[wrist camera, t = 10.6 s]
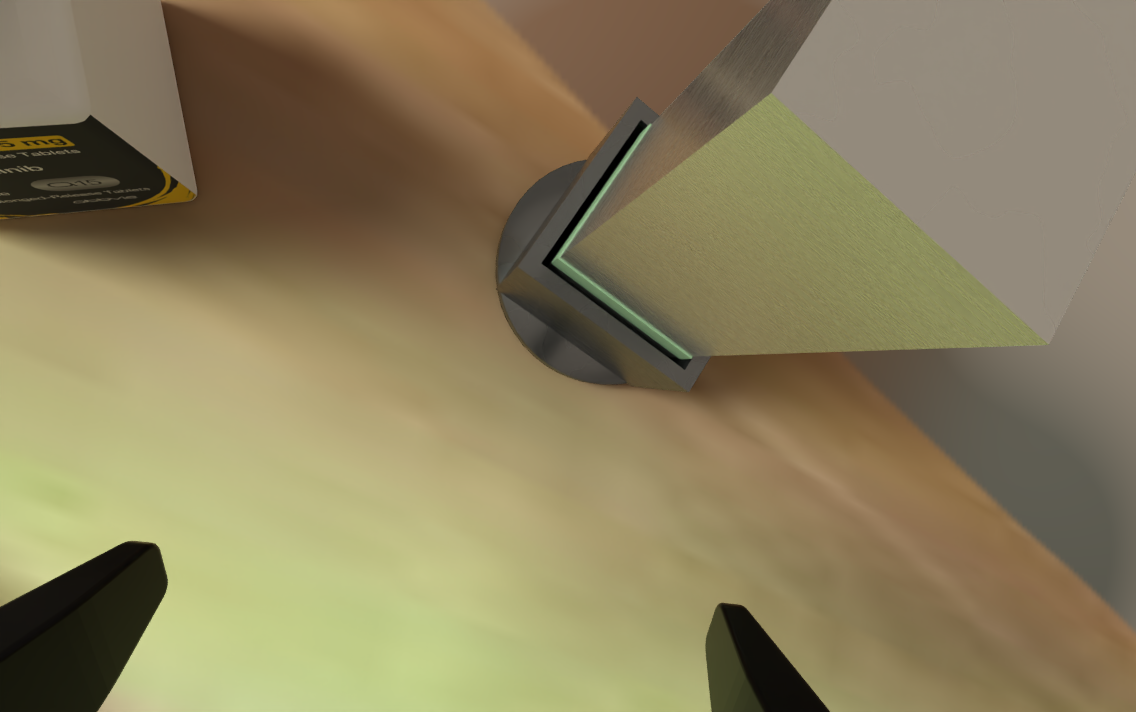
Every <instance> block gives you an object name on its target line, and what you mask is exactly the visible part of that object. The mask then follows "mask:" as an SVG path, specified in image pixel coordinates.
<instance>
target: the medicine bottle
mask: <svg viewBox="0 0 1136 712" xmlns="http://www.w3.org/2000/svg"><path fill="white" fill-rule="evenodd" d="M196 197H197V186H196V181H195V176H194V171H193V166H192V160H191V155H190V150H189V145H188V140H187V135H186V129H185V124H184V119H183V114H182V109H181V103H180V98H179V93H178V88H177V83H176V78H175V72H174V67H173V62H172V57H171V52H170V46H169V41H168V36H167V31H166V26H165V20H164V15H163V10H162V5H161V1H160V0H0V219H10V218H20V217H31V216H41V215H52V214H62V213H73V212H83V211H94V210H105V209H115V208H126V207H136V206H147V205H157V204H168V203H178V202H189V201H192V200H194V199H195V198H196Z"/></svg>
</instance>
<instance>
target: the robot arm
mask: <svg viewBox="0 0 1136 712" xmlns="http://www.w3.org/2000/svg"><path fill="white" fill-rule="evenodd" d="M167 585H168V579H167V574H166V571H165V567H164V563H163V559H162V555H161V552H160V549H159V547H158V546H157V545H156V544H154V543H149V542H140V541H128V542H124V543H122V544H120V545H118V546H116V547H114V548H112V549H110V550H108V551H107V552H105V553H103V554H101V555H99V556H97V557H95V558H93V559H91V560H89V561H87V562H85V563H83V564H82V565H80V566H78V567H76V568H74V569H72V570H70V571H68V572H66V573H64V574H62V575H60V576H58V577H57V578H55V579H53V580H51V581H49V582H47V583H45V584H43V585H41V586H39V587H37V588H35V589H33V590H32V591H30V592H28V593H26V594H24V595H22V596H20V597H18V598H16V599H14V600H12V601H10V602H9V603H7V604H5V605H3V606H1V607H0V712H97V711H98V710H99V708H100V707H101V705H102V704H103V702H104V701H105V699H106V697H107V696H108V694H109V693H110V691H111V690H112V688H113V686H114V684H115V683H116V681H117V679H118V678H119V676H120V674H121V672H122V671H123V669H124V667H125V665H126V664H127V662H128V660H129V658H130V656H131V655H132V653H133V651H134V649H135V647H136V646H137V644H138V642H139V640H140V638H141V637H142V635H143V633H144V631H145V629H146V628H147V626H148V624H149V622H150V621H151V619H152V617H153V615H154V613H155V612H156V610H157V608H158V606H159V604H160V603H161V601H162V599H163V597H164V595H165V593H166V590H167ZM706 660H707V670H708V680H709V690H710V700H711V710H712V712H830V711H829V710H828V708H827V707H826V706H825V705H824V704H823V702H822V701H821V700H820V699H819V697H818V696H817V695H816V694H815V692H814V691H813V690H812V689H811V687H810V686H809V685H808V684H807V683H806V681H805V680H804V679H803V678H802V676H801V675H800V674H799V673H798V671H797V670H796V669H795V668H794V666H793V665H792V664H791V663H790V662H789V660H788V659H787V658H786V657H785V655H784V654H783V653H782V652H781V650H780V649H779V648H778V647H777V645H776V644H775V643H774V642H773V641H772V639H771V638H770V637H769V636H768V634H767V633H766V632H765V631H764V629H763V628H762V627H761V626H760V624H759V623H758V622H757V621H756V620H755V618H754V617H753V616H752V615H751V613H750V612H749V611H748V610H747V609H746V608H745V607H744V606H742V605H737V604H728V603H720V604H718V605H717V607H716V609H715V612H714V615H713V618H712V621H711V624H710V627H709V630H708V633H707V637H706Z"/></svg>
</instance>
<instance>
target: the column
mask: <svg viewBox="0 0 1136 712" xmlns="http://www.w3.org/2000/svg"><path fill="white" fill-rule="evenodd" d="M1135 173H1136V0H770V1H769V2H768V3H767V4H766V5H765V6H764V8H762V10H761V11H760V12H759V13H758V14H757V15H756V16H755V17H754V18H753V19H752V20H751V21H750V22H749V23H748V24H747V25H746V26H745V27H744V29H743V30H741V32H740V33H739V34H738V35H737V36H736V37H735V38H734V39H733V40H732V41H731V42H730V43H729V44H728V45H727V46H726V47H725V48H724V49H723V50H722V51H721V52H720V54H719V55H718V56H717V57H716V58H715V59H714V60H713V61H712V62H711V63H710V64H709V65H708V66H707V67H706V68H705V69H704V70H703V71H702V72H701V73H700V74H699V76H697V78H696V79H695V80H694V81H693V82H692V83H691V84H690V85H689V86H688V87H687V88H686V89H685V90H684V91H683V92H682V93H681V94H680V96H678V97H677V99H676V100H675V101H674V102H673V103H672V104H671V105H670V106H669V107H668V108H667V109H666V110H665V111H664V112H663V113H662V114H661V115H660V116H659V117H658V118H657V119H656V120H655V121H654V122H653V124H649V125H648V126H647V127H646V128H645V129H644V130H643V131H642V132H641V133H640V135H639V136H638V138H637V139H636V141H635V142H634V143H633V144H632V145H631V147H630V148H629V149H628V150H627V152H626V153H625V154H624V156H623V157H622V159H621V160H620V162H619V163H618V165H617V166H616V168H615V169H614V170H613V172H612V173H611V175H610V176H609V178H608V179H607V181H606V182H605V183H604V185H603V186H602V188H601V189H600V191H599V192H598V194H597V195H596V196H595V198H594V199H593V201H592V202H591V204H590V205H589V207H588V208H587V209H586V211H585V212H584V214H583V215H582V217H581V218H580V220H579V221H578V223H577V224H576V225H575V227H574V228H573V230H572V231H571V233H570V234H569V236H568V237H567V238H566V240H565V241H564V243H563V244H562V246H561V247H560V249H559V250H558V251H557V253H556V254H555V256H554V257H553V259H552V260H551V262H550V263H549V265H548V266H547V268H548V269H549V270H551V271H552V272H553V273H555V274H556V275H557V276H559V277H560V278H561V279H563V280H564V281H566V282H567V283H568V284H570V285H571V286H572V287H574V288H575V289H576V290H578V291H579V292H580V293H582V294H583V295H584V296H586V297H587V298H588V299H590V300H591V301H592V302H594V303H595V304H597V305H598V306H599V307H601V308H602V309H603V310H605V311H606V312H607V313H609V314H610V315H611V316H613V317H614V318H615V319H617V320H618V321H619V322H621V323H622V324H623V325H625V326H626V327H628V328H629V329H630V330H632V331H633V332H634V333H636V334H637V335H638V336H640V337H641V338H642V339H644V340H645V341H646V342H648V343H649V344H650V345H652V346H653V347H654V348H656V349H657V350H659V351H660V352H661V353H663V354H664V355H665V356H667V357H678V358H679V359H692V357H694V356H724V355H754V354H784V353H814V352H845V351H872V350H902V349H903V350H905V349H932V348H933V349H934V348H965V347H992V346H993V347H995V346H1025V345H1049V343H1050V342H1051V339H1052V338H1053V336H1054V334H1055V332H1056V329H1057V328H1058V326H1059V324H1060V322H1061V320H1062V318H1063V316H1064V314H1065V312H1066V310H1067V308H1068V306H1069V304H1070V302H1071V300H1072V298H1073V296H1074V294H1075V292H1076V290H1077V288H1078V286H1079V284H1080V282H1081V280H1082V278H1083V276H1084V274H1085V272H1086V270H1087V268H1088V266H1089V264H1090V262H1091V260H1092V258H1093V256H1094V254H1095V252H1096V250H1097V248H1098V246H1099V244H1100V242H1101V241H1102V238H1103V237H1104V235H1105V233H1106V231H1107V229H1108V227H1109V225H1110V222H1111V221H1112V219H1113V217H1114V215H1115V213H1116V211H1117V209H1118V207H1119V205H1120V203H1121V201H1122V199H1123V197H1124V195H1125V193H1126V191H1127V189H1128V187H1129V185H1130V183H1131V181H1132V179H1133V177H1134V175H1135Z"/></svg>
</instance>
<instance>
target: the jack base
mask: <svg viewBox="0 0 1136 712" xmlns="http://www.w3.org/2000/svg"><path fill="white" fill-rule="evenodd" d="M658 117H659V115H658V114H656V113H655V112H654V111H653V110H651V108H649V107H648V106H647V105H646V104H645V103H643V102H642V101H641V100H640V99H639V98H638V97H636V99H635V100H634V101H633V102H632V104H631V105H630V106H629V107H628V109H627V110H626V111H625V112H624V114H623V115H622V116H621V117H620V119H619V120H618V121H617V122H616V124H615V125H614V126H613V127H612V128H611V130H610V131H609V132H608V133H607V135H606V136H605V137H604V138H603V140H602V141H601V142H600V143H599V145H598V146H597V147H596V148H595V150H594V151H593V152H592V153H591V155H590V156H589V157H588V159H587V160H583V161H577V162H574V163H571V164H568V165H565V166H562V167H560V168H558V169H556V170H554V171H552V172H550V173H549V174H547V175H546V176H544V177H543V178H541V179H540V180H539V181H537V182H536V183H535V184H534V185H533V186H532V187H531V188H530V189H529V190H528V191H527V192H526V193H525V194H524V196H523V197H522V198H521V199H520V200H519V202H518V203H517V205H516V207H515V208H514V210H513V211H512V213H511V215H510V216H509V218H508V220H507V222H506V225H505V227H504V229H503V231H502V234H501V238H500V241H499V245H498V250H497V257H496V283H497V288H496V290H497V291H498V295H499V299H500V303H501V307H502V309H503V312H504V314H505V317H506V319H507V321H508V323H509V325H510V327H511V328H512V330H513V332H514V334H515V335H516V336H517V338H518V339H519V340H520V342H521V343H522V345H523V346H524V347H525V348H526V349H527V350H528V351H529V352H530V353H531V354H532V355H533V356H534V357H535V358H537V359H538V360H539V361H540V362H542V363H543V364H544V365H546V366H547V367H549V368H551V369H552V370H554V371H556V372H557V373H560V374H562V375H564V376H567V377H569V378H572V379H575V380H579V381H583V382H589V383H596V384H623V383H627V384H629V385H630V386H632V387H642V388H652V389H662V390H672V391H682V392H689V391H690V389H691V388H692V386H693V385H694V383H695V381H696V380H697V378H698V376H699V375H700V373H701V372H702V370H703V368H704V367H705V365H706V363H707V362H708V360H709V359H710V357H711V356H694V357H692V359H679V358H678V357H667V356H665V355H664V354H663V353H661V352H660V351H659V350H657V349H656V348H654V347H653V346H652V345H650V344H649V343H648V342H646V341H645V340H644V339H642V338H641V337H640V336H638V335H637V334H636V333H634V332H633V331H632V330H630V329H629V328H628V327H626V326H625V325H623V324H622V323H621V322H619V321H618V320H617V319H615V318H614V317H613V316H611V315H610V314H609V313H607V312H606V311H605V310H603V309H602V308H601V307H599V306H598V305H597V304H595V303H594V302H592V301H591V300H590V299H588V298H587V297H586V296H584V295H583V294H582V293H580V292H579V291H578V290H576V289H575V288H574V287H572V286H571V285H570V284H568V283H567V282H566V281H564V280H563V279H561V278H560V277H559V276H557V275H556V274H555V273H553V272H552V271H551V270H549V269H548V268H547V266H548V265H549V263H550V262H551V260H552V259H553V257H554V256H555V254H556V253H557V251H558V250H559V249H560V247H561V246H562V244H563V243H564V241H565V240H566V238H567V237H568V236H569V234H570V233H571V231H572V230H573V228H574V227H575V225H576V224H577V223H578V221H579V220H580V218H581V217H582V215H583V214H584V212H585V211H586V209H587V208H588V207H589V205H590V204H591V202H592V201H593V199H594V198H595V196H596V195H597V194H598V192H599V191H600V189H601V188H602V186H603V185H604V183H605V182H606V181H607V179H608V178H609V176H610V175H611V173H612V172H613V170H614V169H615V168H616V166H617V165H618V163H619V162H620V160H621V159H622V157H623V156H624V154H625V153H626V152H627V150H628V149H629V148H630V147H631V145H632V144H633V143H634V142H635V141H636V139H637V138H638V136H639V135H640V133H641V132H642V131H643V130H644V129H645V128H646V127H647V126H648V125H649V124H653V122H654V121H655V120H656V119H657V118H658Z"/></svg>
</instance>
